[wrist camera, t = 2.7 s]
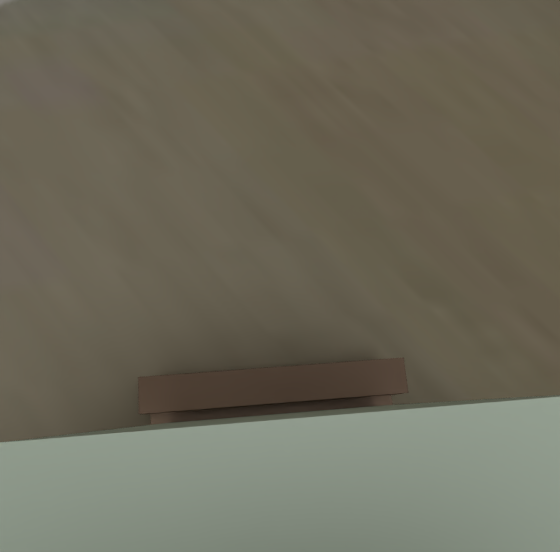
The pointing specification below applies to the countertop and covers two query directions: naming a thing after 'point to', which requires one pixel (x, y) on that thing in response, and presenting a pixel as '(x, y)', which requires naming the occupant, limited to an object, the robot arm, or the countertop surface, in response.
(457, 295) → the countertop surface
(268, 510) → the pale green block
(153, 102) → the countertop surface
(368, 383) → the rack
